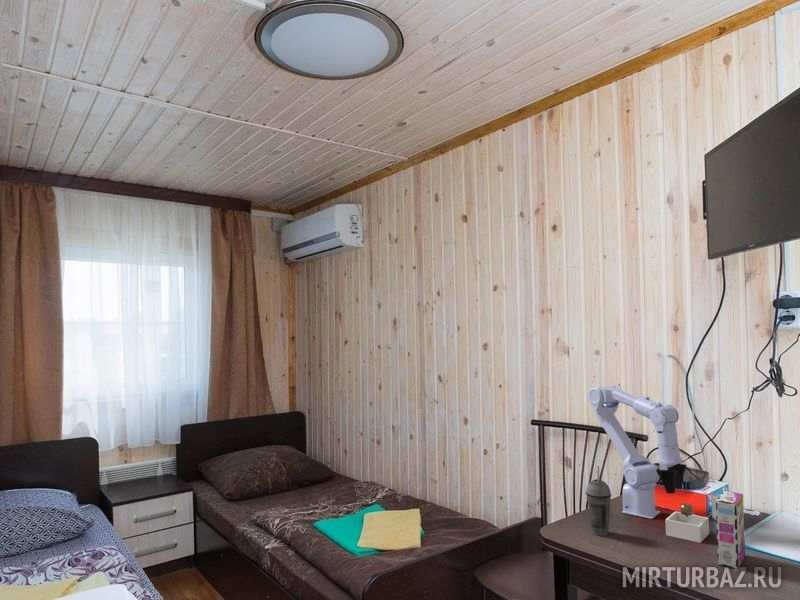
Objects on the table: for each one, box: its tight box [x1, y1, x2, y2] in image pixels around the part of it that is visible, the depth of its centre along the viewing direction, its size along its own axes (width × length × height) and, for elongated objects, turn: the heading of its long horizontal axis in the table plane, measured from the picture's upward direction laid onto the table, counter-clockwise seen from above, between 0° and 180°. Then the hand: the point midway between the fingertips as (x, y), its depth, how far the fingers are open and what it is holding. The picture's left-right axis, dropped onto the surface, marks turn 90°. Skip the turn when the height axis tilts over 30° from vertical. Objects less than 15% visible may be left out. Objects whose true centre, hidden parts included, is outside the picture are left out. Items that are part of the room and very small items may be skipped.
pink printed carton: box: [715, 490, 746, 570], centre depth 145 cm, size 11×5×16 cm, turn 141°
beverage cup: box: [585, 465, 612, 537], centre depth 166 cm, size 7×7×20 cm
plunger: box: [679, 502, 694, 524], centre depth 163 cm, size 7×7×8 cm
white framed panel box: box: [664, 511, 710, 544], centre depth 164 cm, size 9×11×4 cm
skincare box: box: [710, 494, 721, 521], centre depth 173 cm, size 6×6×7 cm
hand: (674, 490), depth 170 cm, fingers open, 7 cm apart
